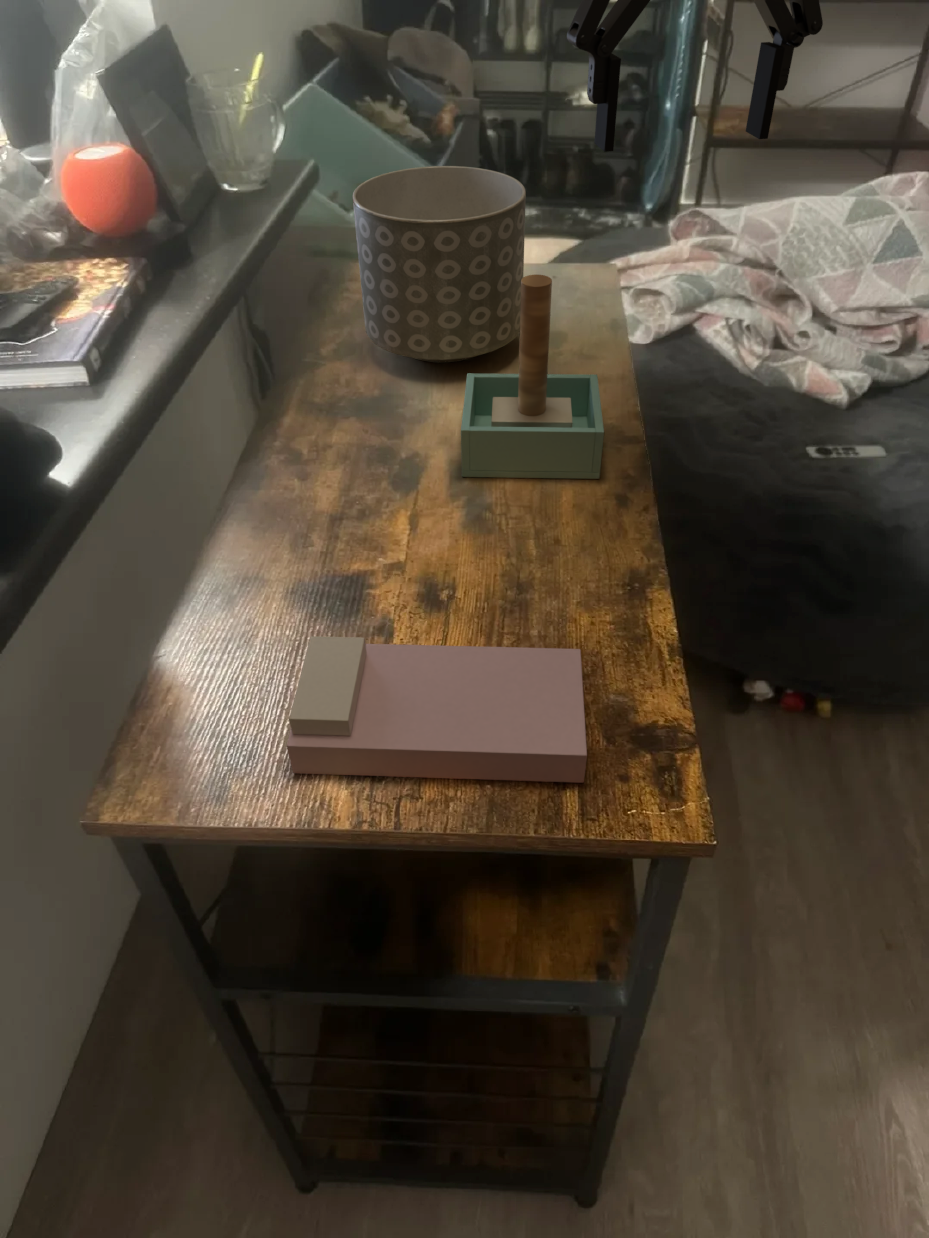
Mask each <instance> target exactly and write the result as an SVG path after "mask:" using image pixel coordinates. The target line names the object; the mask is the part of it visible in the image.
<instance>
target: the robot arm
mask: <svg viewBox="0 0 929 1238" xmlns="http://www.w3.org/2000/svg"><path fill="white" fill-rule="evenodd" d="M650 1H651V0H616V1H615V3H614V4H613V6H612V7H611V8H610V10H609V11H608V13H606V15H605V12H606V10H607V8H608V6H609V3H610V2H611V0H580V3H579V5H578V7H577V9H576V12H575V14H574V17H573V18H572V20H571V23H570V25H569V28H568V29H567V33H566V40H567V42H568V43H569V44H571V45H572V46H574V47H575V48H577V49H578V50H582V51H584V52H587V55H588V70H587V87H586V95H587V99H588V101H589V102H590V103H591V104H593V105H596V115H595V129H594V144H595V145H596V147H598V148H599V149H601V150H602V151H603V153H606V152H608V153H609V152H614V145H615V137H616V136H615V135H616V121H617V111H618V102H619V101H618V99H619V88H620V77H621V76H620V75H621V65H622V58H621V57H619V56H617V55H616V54H615V53H613V52H614V51H615V49H616V48H617V46H618V45H619V44H620V42H621V41H622V40H623V38H624V37H625V36H626V34H627V33H628V31H629V30H630V29H631V28H632V26H633V25H634V24H635V22H636V20H637V19H638V18H639V16H640V15H641V14H642V13H643V11H644V10H645V8H647V6H648V5H649V3H650ZM752 1H753V3H754V5H755V7H756V9H757V11H758V13H759V15H760V16H761V19H762V20H763V23H764V25H765V26H766V29H767V30H768V33H769V34H770V36H771V38H772V42H771V41H763V42H760V46H759V52H758V58H757V63H756V69H755V75H754V81H753V86H752V90H751V91H752V92H751V97H750V104H749V110H748V115H747V120H746V126H745V132H746V133H748V134H750V135H751V136H752V137H754V138H756V139H758V140H769V134H770V128H771V123H772V119H773V113H774V108H775V103H776V98H777V92H781V91H785V88H786V87H787V84H788V81H789V75H790V72H791V65H792V61H793V56H794V52H795V51H794V50H795V48H799V47H800V46H801V45H802V44H803V43H804V40H805V38H806V37H808V36H811V35H812V36H815V35H818V33H819V32H820V31H821V30H822V29H823V25H824V23H823V22H824V21H823V15H822V9H821V4H820V0H788V3H789V7H788V5H787V3H786V1H785V0H752ZM789 8H790V9H789ZM604 15H605V17H604V18H603V16H604Z"/></svg>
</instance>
